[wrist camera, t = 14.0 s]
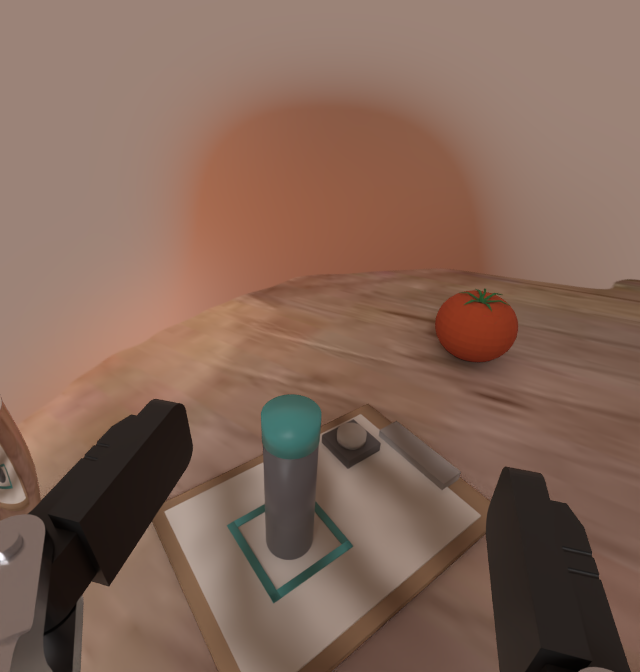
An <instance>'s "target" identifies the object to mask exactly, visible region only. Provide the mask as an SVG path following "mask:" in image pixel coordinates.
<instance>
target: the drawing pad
mask: <svg viewBox="0 0 640 672" xmlns="http://www.w3.org/2000/svg"><path fill="white" fill-rule="evenodd" d="M460 473H461V471H459V470H458V469H457V468H456V467H454V466H453V465H452V464H450V463H449V462H448V461H447V460H445V459H444V458H443V457H442V456H440V455H439V454H438V453H437V452H435V451H434V450H433V449H432V448H430V447H429V446H428V445H426V444H425V443H424V442H423V441H421V440H420V439H419V438H418V437H416V436H415V435H414V434H413V433H411V432H410V431H409V430H407V429H406V428H405V427H404V426H402V425H401V424H400V423H399V422H397V421H395V422H394V423H392V422H390V421H389V420H388V419H387V418H385V417H384V416H383V415H382V414H380V413H379V412H378V411H377V410H375V409H374V408H373V407H372V406H370V405H369V404H366V405H364V406H362V407H360V408H358V409H356V410H354V411H352V412H350V413H348V414H346V415H344V416H341V417H339V418H337V419H335V420H333V421H331V422H329V423H327V424H325V425H323V426H321V430H320V442H319V449H318V466H317V482H316V498H315V514H314V530H313V542H312V545H311V547H310V549H309V550H308V552H307V553H306V554H304V555H303V556H302V557H300V558H297V559H294V560H284V559H280V558H278V557H276V556H275V555H273V554H272V553H271V552H270V550H269V549H268V547H267V544H266V526H265V495H264V464H263V455H261V456H259V457H257V458H255V459H253V460H251V461H249V462H247V463H245V464H243V465H240V466H238V467H236V468H234V469H232V470H230V471H228V472H226V473H224V474H222V475H220V476H218V477H216V478H214V479H212V480H210V481H207V482H205V483H203V484H201V485H199V486H197V487H195V488H193V489H191V490H189V491H187V492H185V493H183V494H181V495H179V496H177V497H174V498H172V499H170V500H168V501H166V502H164V503H163V505H162V506H161V508H160V510H159V511H158V513H157V514H156V516H155V517H154V519H153V520H152V522H153V525H154V527H155V529H156V531H157V534H158V536H159V538H160V540H161V543H162V545H163V547H164V549H165V552H166V554H167V556H168V558H169V561H170V563H171V565H172V568H173V570H174V572H175V574H176V577H177V579H178V581H179V583H180V586H181V588H182V590H183V592H184V595H185V597H186V599H187V601H188V604H189V606H190V608H191V611H192V613H193V615H194V617H195V620H196V622H197V624H198V626H199V629H200V631H201V633H202V635H203V638H204V640H205V642H206V644H207V647H208V649H209V651H210V654H211V656H212V658H213V660H214V663H215V665H216V667H217V669H218V672H331V671H332V670H333V669H335V668H336V667H337V666H338V665H339V664H340V663H341V662H342V661H343V660H345V659H346V658H347V657H348V656H349V655H350V654H351V653H352V652H354V651H355V650H356V649H357V648H358V647H359V646H360V645H361V644H363V643H364V642H365V641H366V640H367V639H368V638H369V637H370V636H371V635H373V634H374V633H375V632H376V631H377V630H378V629H379V628H380V627H382V626H383V625H384V624H385V623H386V622H387V621H388V620H389V619H391V618H392V617H393V616H394V615H395V614H396V613H397V612H398V611H399V610H401V609H402V608H403V607H404V606H405V605H406V604H407V603H408V602H410V601H411V600H412V599H413V598H414V597H415V596H416V595H417V594H419V593H420V592H421V591H422V590H423V589H424V588H425V587H426V586H427V585H429V584H430V583H431V582H432V581H433V580H434V579H435V578H436V577H438V576H439V575H440V574H441V573H442V572H443V571H444V570H445V569H447V568H448V567H449V566H450V565H451V564H452V563H453V562H454V561H455V560H457V559H458V558H459V557H460V556H461V555H462V554H463V553H464V552H466V551H467V550H468V549H469V548H470V547H471V546H472V545H473V544H475V543H476V542H477V541H478V540H479V539H480V538H481V537H482V536H483V535H485V534H486V518H487V512H488V508H489V505H490V501H489V500H487V499H486V498H485V497H484V496H483V495H481V494H480V493H479V492H478V491H476V490H475V489H474V488H473V487H471V486H470V485H469V484H468V483H466V482H465V481H464V480H463V479H461V478H460V477H459V476H460Z"/></svg>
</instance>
